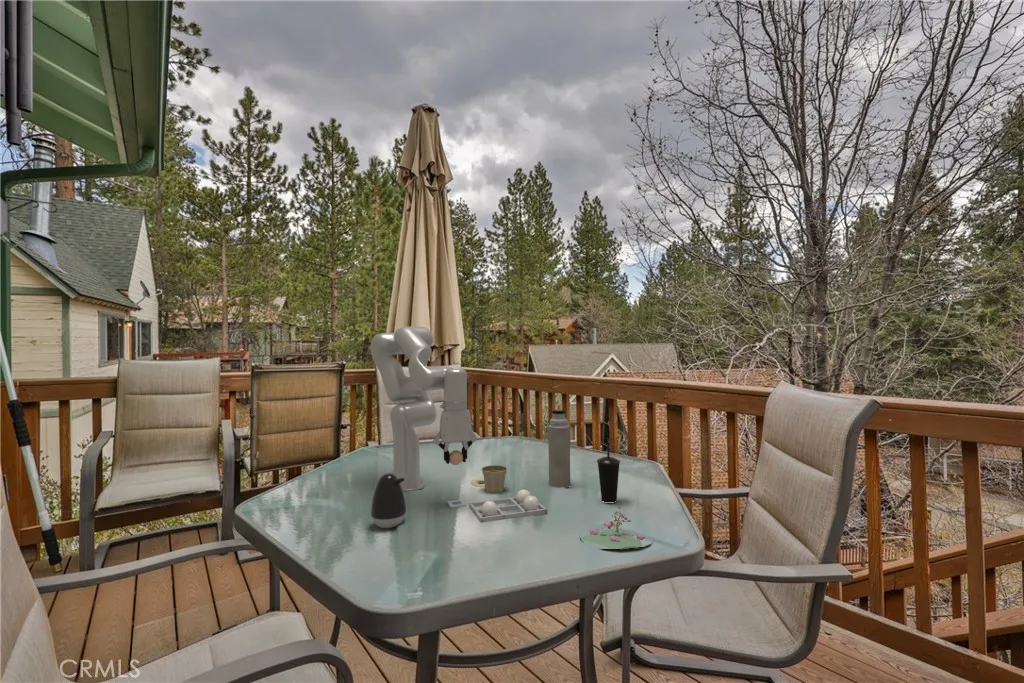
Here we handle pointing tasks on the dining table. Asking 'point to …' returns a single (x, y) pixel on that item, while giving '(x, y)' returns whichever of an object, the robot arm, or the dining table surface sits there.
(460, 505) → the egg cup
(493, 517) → the carton
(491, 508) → the white egg
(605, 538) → the plant
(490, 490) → the flower pot
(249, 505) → the dining table surface
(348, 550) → the dining table surface
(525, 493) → the white egg
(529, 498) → the white egg
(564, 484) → the thermos bottle
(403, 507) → the penguin figurine
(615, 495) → the drinking cup
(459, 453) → the brown egg
